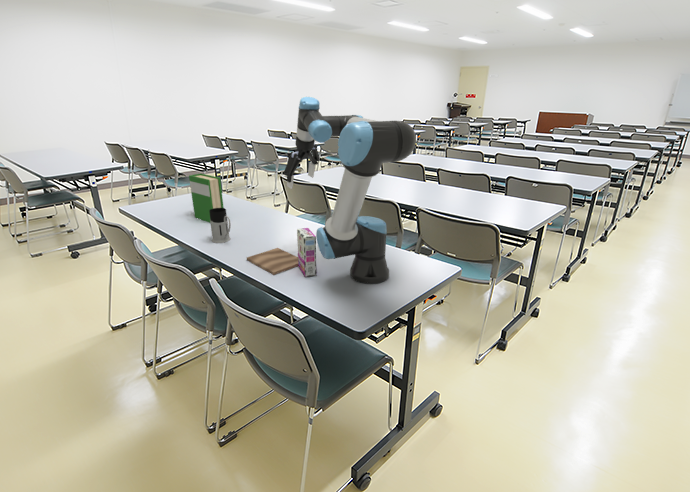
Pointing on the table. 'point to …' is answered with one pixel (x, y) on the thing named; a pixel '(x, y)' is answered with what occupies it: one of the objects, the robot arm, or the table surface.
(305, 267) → the candy bar box
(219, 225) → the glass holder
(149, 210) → the table surface
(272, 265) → the walnut board
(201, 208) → the hardback book
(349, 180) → the robot arm
